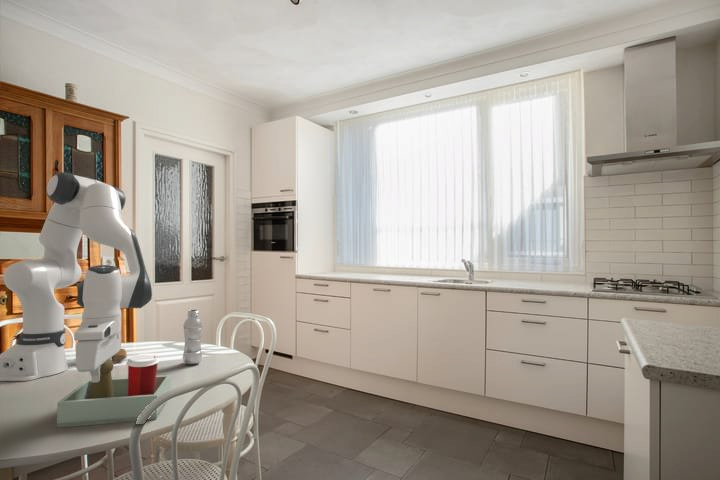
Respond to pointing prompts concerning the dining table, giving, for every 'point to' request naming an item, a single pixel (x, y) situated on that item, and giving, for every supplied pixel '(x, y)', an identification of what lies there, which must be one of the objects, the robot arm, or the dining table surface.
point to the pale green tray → (107, 404)
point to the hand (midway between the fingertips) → (100, 377)
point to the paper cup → (142, 374)
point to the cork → (103, 383)
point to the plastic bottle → (192, 338)
